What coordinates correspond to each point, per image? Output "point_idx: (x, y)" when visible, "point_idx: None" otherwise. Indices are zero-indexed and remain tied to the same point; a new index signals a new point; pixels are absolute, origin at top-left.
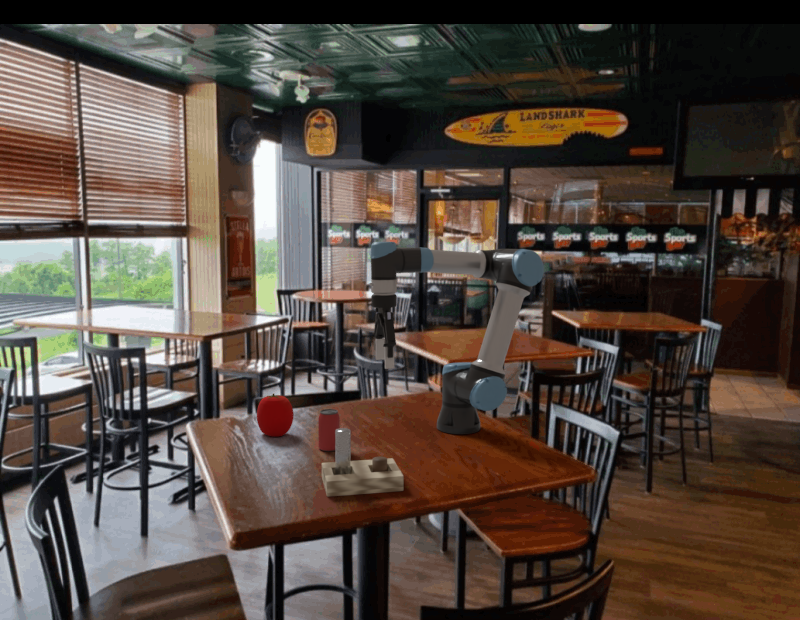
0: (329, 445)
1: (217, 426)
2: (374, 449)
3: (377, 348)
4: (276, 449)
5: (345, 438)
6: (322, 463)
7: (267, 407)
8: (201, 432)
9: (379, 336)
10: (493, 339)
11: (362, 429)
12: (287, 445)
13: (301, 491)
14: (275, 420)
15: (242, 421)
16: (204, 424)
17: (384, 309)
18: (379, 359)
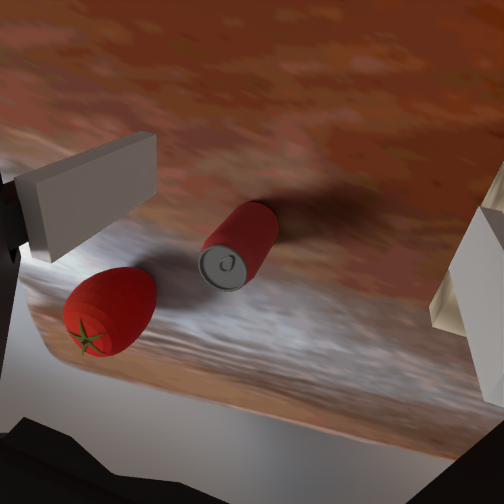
0: (275, 239)
1: None
2: (304, 121)
3: (106, 214)
4: (226, 312)
5: None
6: (438, 327)
7: (124, 347)
8: (108, 369)
9: (4, 232)
10: None
11: (131, 86)
12: (208, 288)
13: None
14: (147, 318)
15: (53, 302)
16: (67, 353)
17: None
18: (155, 172)
